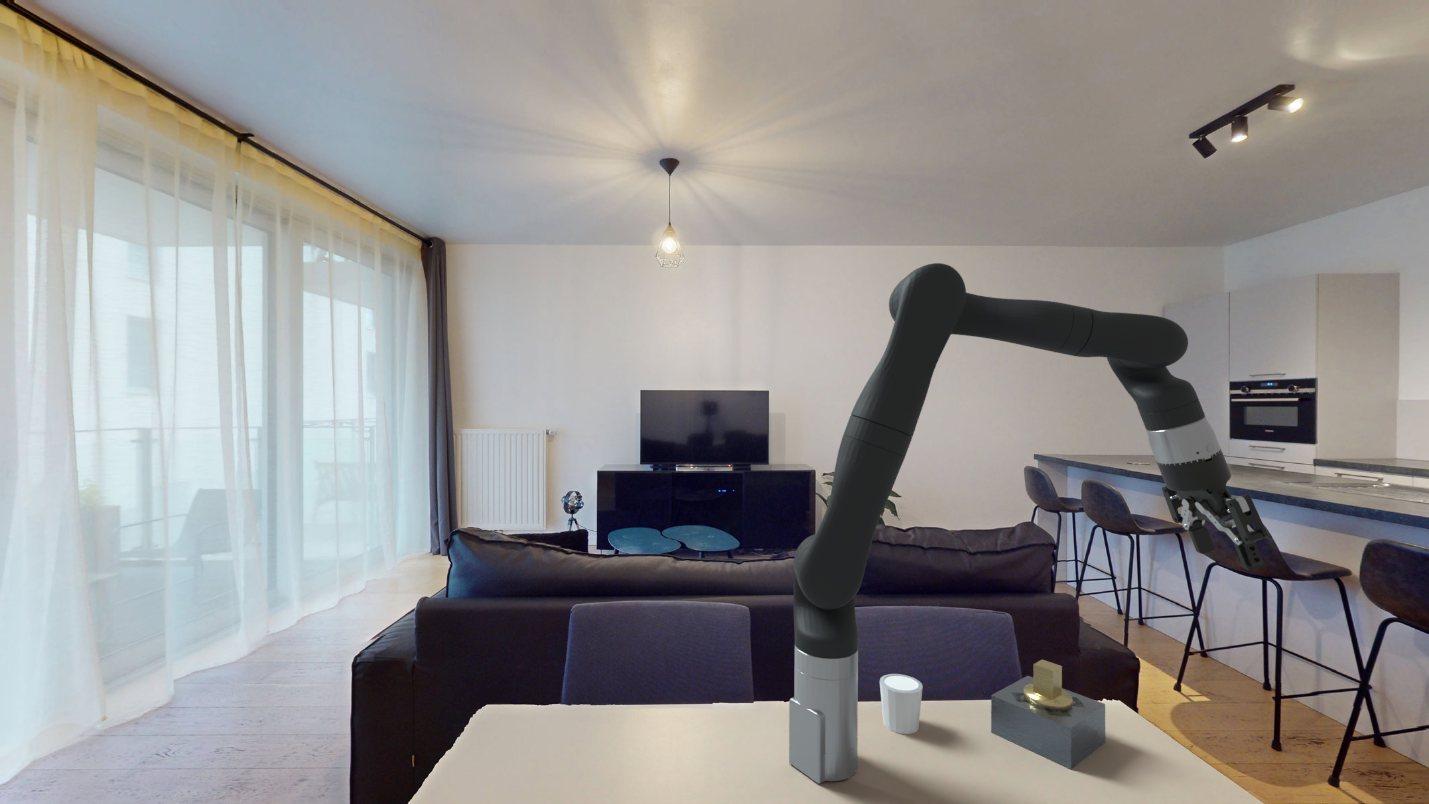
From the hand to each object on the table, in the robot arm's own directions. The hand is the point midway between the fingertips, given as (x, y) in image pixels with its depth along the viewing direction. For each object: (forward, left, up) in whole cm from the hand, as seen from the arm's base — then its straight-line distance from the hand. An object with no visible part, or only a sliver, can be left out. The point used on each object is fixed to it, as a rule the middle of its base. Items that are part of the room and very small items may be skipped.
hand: (1229, 559), depth 83 cm
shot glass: (-25, +36, -32) cm, 54 cm away
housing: (-9, +20, -31) cm, 39 cm away
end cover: (-9, +20, -29) cm, 37 cm away
